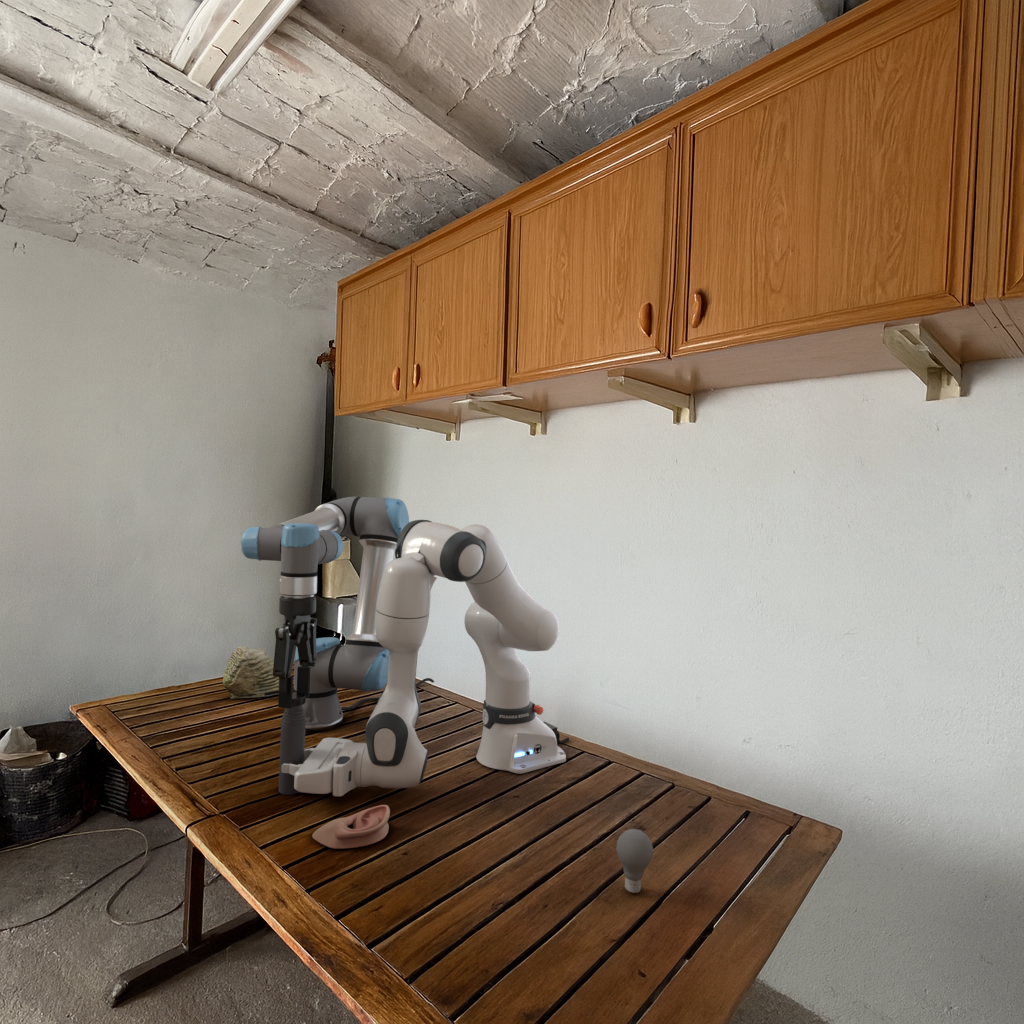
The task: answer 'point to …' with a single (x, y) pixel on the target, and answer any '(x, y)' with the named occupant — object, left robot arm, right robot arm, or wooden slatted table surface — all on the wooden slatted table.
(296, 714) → the bottle
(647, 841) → the light bulb
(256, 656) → the fossil
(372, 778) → the right robot arm
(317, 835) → the anatomical model
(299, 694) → the cap
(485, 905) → the wooden slatted table surface
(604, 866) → the wooden slatted table surface
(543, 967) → the wooden slatted table surface
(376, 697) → the left robot arm
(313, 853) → the wooden slatted table surface
